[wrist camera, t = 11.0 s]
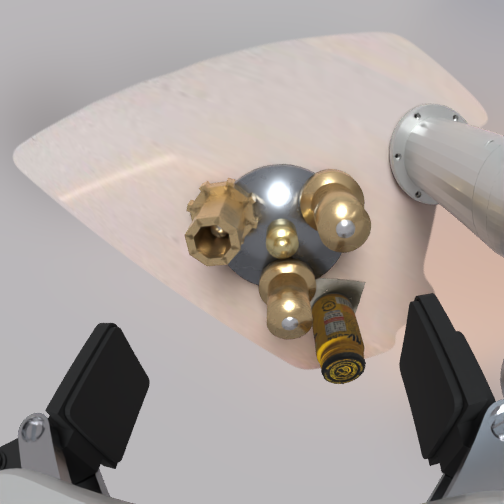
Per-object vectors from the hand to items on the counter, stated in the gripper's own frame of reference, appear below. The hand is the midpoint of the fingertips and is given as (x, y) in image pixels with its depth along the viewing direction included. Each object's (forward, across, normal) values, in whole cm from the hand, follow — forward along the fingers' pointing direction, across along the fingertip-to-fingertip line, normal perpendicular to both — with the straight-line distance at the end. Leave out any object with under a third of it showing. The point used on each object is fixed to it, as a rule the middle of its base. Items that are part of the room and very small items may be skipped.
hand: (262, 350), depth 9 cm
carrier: (+28, 0, +10) cm, 30 cm away
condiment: (+29, -5, +21) cm, 36 cm away
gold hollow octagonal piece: (+27, +7, +5) cm, 28 cm away
